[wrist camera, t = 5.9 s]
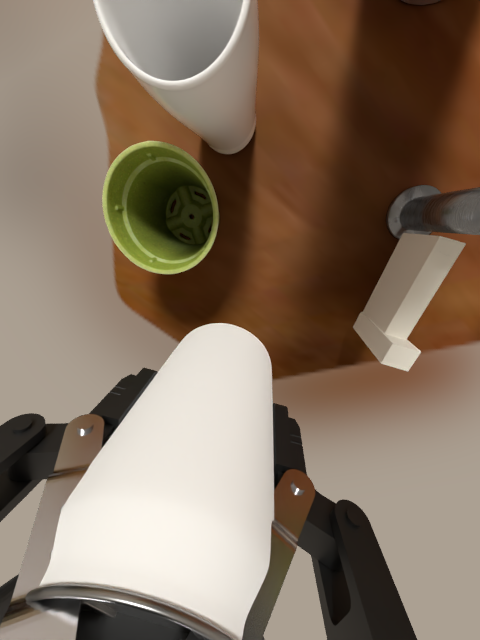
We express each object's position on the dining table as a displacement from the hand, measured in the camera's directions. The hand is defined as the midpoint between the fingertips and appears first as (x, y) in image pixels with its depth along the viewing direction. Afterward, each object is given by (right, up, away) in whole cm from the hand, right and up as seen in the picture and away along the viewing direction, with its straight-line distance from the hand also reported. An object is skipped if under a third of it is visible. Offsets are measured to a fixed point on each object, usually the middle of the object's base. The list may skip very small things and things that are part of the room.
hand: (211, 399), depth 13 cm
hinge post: (+19, +15, +11) cm, 27 cm away
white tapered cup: (+1, +23, +10) cm, 25 cm away
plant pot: (-4, +16, +14) cm, 21 cm away
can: (0, +1, +3) cm, 4 cm away
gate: (+17, +8, +12) cm, 22 cm away
